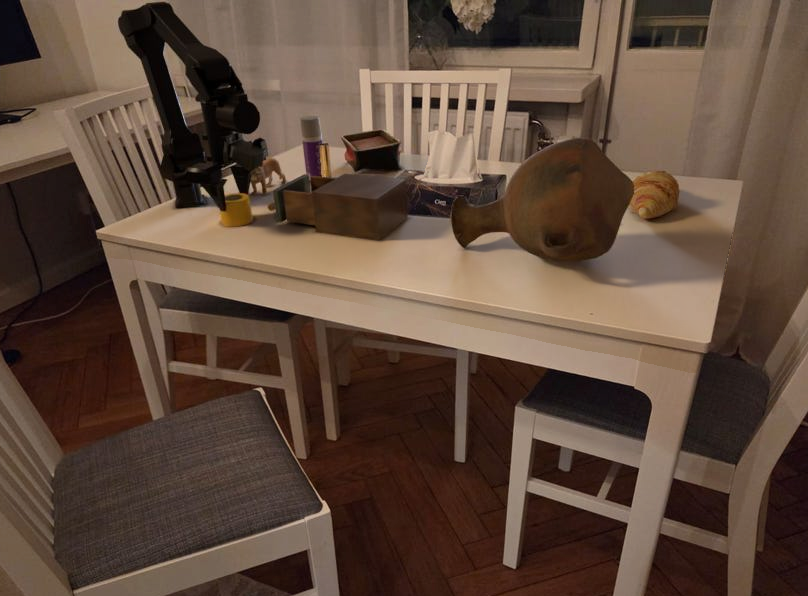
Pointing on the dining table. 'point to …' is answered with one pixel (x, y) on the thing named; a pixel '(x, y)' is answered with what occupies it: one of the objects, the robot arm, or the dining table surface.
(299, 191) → the drawer
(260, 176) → the lion figurine
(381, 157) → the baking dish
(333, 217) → the cabinet
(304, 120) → the container
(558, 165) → the jug
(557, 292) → the dining table surface
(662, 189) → the croissant
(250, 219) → the tape roll
